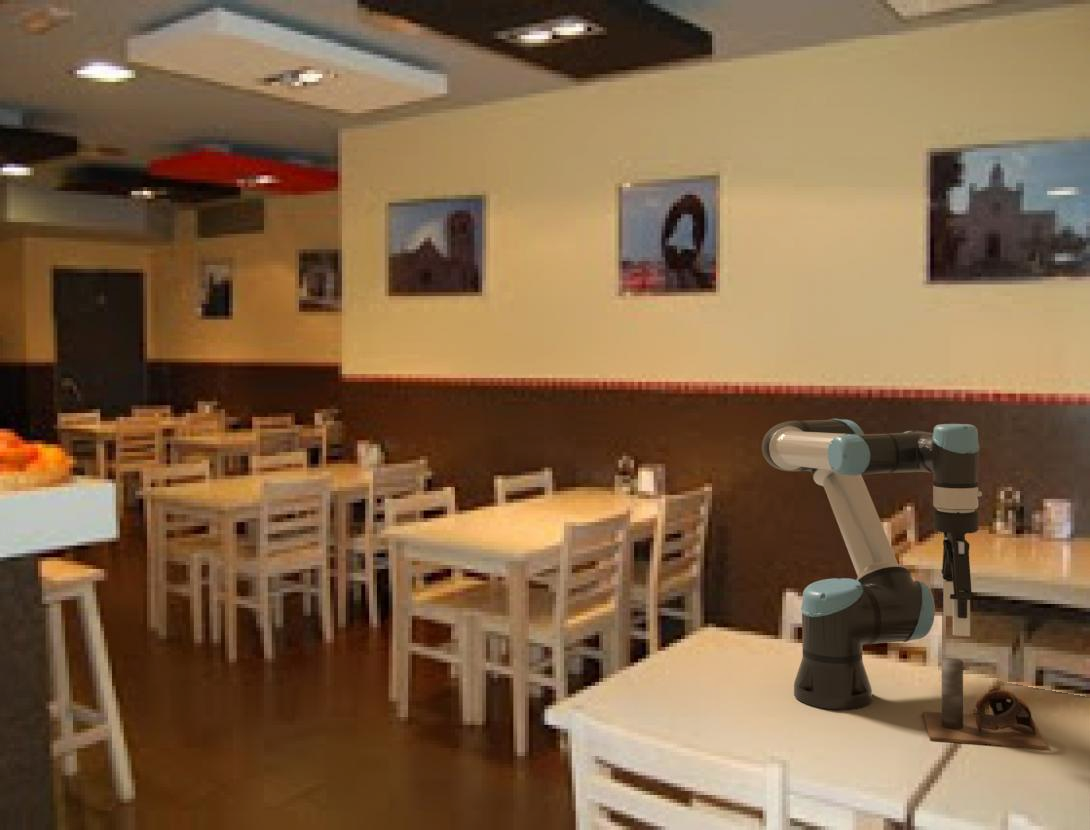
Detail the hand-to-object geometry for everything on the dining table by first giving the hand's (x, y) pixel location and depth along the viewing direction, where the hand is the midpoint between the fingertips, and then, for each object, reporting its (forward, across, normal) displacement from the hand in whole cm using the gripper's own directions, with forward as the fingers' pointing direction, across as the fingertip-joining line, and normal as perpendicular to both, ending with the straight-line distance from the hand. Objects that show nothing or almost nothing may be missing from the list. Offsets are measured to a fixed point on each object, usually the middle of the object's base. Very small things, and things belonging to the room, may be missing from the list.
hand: (956, 625), depth 176 cm
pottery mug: (+19, 0, -8) cm, 21 cm away
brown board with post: (+19, 0, -4) cm, 20 cm away
